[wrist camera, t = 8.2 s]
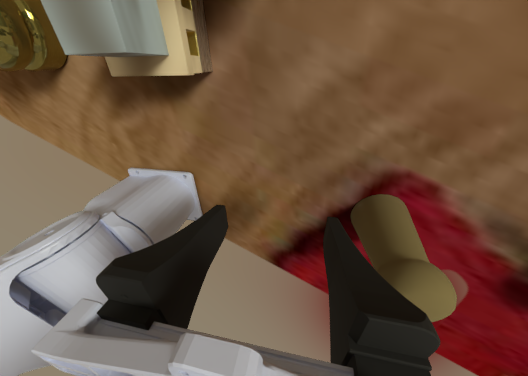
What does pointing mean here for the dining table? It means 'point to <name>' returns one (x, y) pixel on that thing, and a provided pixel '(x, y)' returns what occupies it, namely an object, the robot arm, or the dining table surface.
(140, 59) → the stacked blocks
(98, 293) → the robot arm
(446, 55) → the dining table surface
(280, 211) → the dining table surface
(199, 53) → the dock
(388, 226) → the cork
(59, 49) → the olive shiny rounded piece
